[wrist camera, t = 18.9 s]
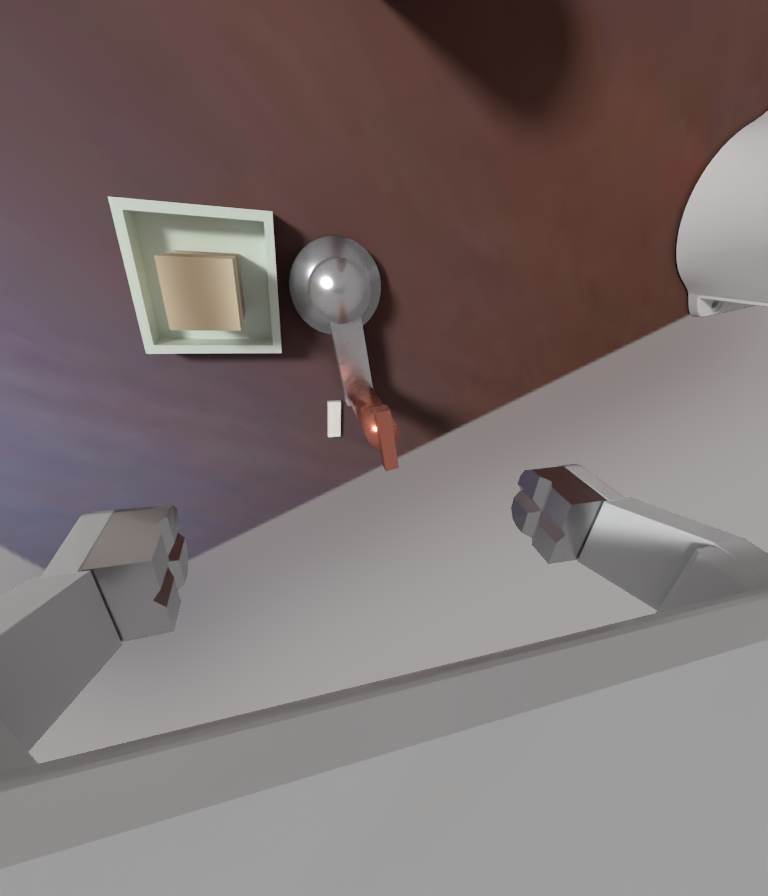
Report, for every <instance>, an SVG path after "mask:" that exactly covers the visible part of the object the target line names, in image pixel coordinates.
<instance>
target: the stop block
mask: <svg viewBox="0 0 768 896" xmlns="http://www.w3.org/2000/svg"><path fill="white" fill-rule="evenodd" d="M154 258H155V263H156V268H157V272H158V277H159V282H160V286H161V291H162V296H163V301H164V305H165V310H166V315H167V319H168V324H169V329H170V330H212V331H241V328H242V324H243V320H244V316H245V306H244V297H243V288H242V280H241V271H240V262H239V254H236V253H218V252H200V251H181V250H175V251H170V252H166V253H161V254H157V255H154Z"/></svg>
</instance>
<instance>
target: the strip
mask: <svg viewBox="0 0 768 896" xmlns="http://www.w3.org/2000/svg"><path fill="white" fill-rule="evenodd" d="M327 406H328V437H340V436H341V400H339V401H327Z"/></svg>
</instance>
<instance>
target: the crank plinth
mask: <svg viewBox="0 0 768 896" xmlns="http://www.w3.org/2000/svg"><path fill="white" fill-rule="evenodd" d="M335 256H336V257H343V258H346V259H349V260H352V261H354V262H355V263H357V264H358V265H359V266H360V267H361V268H362V269H363V270H364V271H365V273H366V275H367V277H368V279H369V282H370V287H371V296H370V301H369V304H368V306H367V308H366V310H365V311H364V313H363V314H362V315H361V319H362V325H364V324H366V323H367V322H368V321H369V319H370V318H371V317H372V315H373V314H374V312H375V310H376V308H377V306H378V303H379V299H380V293H381V281H380V275H379V271H378V268H377V266H376V264H375V262H374V260H373V258H372V257H371V255H370V254H369V253H368V252H367V251H366V249H364V248H363V247H362V246H361V245H360V244H358V243H357V242H355V241H353V240H351V239H348V238H345V237H340V236H324V237H320V238H317V239H314V240H312V241H311V242H309V243H308V244H306V245H305V246H304V247H303V248H302V249H301V250H300V251H299V252H298V254H297V255H296V257H295V259H294V261H293V263H292V266H291V269H290V274H289V290H290V295H291V298H292V301H293V304H294V306H295V308H296V310H297V312H298V313H299V315H300V316H301V317H302V319H303V320H304V321H305V322H306V323H307V324H308V325H310V326H311V327H313V328H314V329H316V330H318V331H320V332H323V333H326V334H330V335H331V333H330V328H329V323H328V320H327V319H325V318H324V317H322V316H321V315H320V314H319V313H318V311H317V310H316V309H315V307H314V305H313V304H312V302H311V300H310V297H309V293H308V281H309V277H310V274H311V272H312V270H313V269H314V267H315V266H316V265H317V264H318V263H319V262H320V261H322V260H324V259H326V258H329V257H335Z"/></svg>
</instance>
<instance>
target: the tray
mask: <svg viewBox="0 0 768 896" xmlns="http://www.w3.org/2000/svg"><path fill="white" fill-rule="evenodd" d="M108 200H109V204H110V208H111V212H112V216H113V220H114V225H115V229H116V233H117V237H118V241H119V245H120V249H121V253H122V257H123V261H124V266H125V270H126V274H127V278H128V282H129V286H130V290H131V294H132V298H133V302H134V307H135V311H136V315H137V319H138V323H139V327H140V331H141V335H142V339H143V343H144V348H145V352H146V354H224V353H282V348H281V333H280V318H279V302H278V287H277V272H276V257H275V241H274V226H273V211H262V210H251V209H240V208H229V207H218V206H207V205H196V204H185V203H174V202H163V201H152V200H141V199H130V198H119V197H108ZM175 250H181V251H200V252H218V253H236V254H239V262H240V271H241V280H242V288H243V297H244V306H245V316H244V320H243V324H242V328H241V331H212V330H170V329H169V324H168V319H167V315H166V310H165V305H164V301H163V296H162V291H161V286H160V282H159V277H158V272H157V268H156V263H155V258H154V255H157V254H161V253H166V252H170V251H175Z"/></svg>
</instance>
